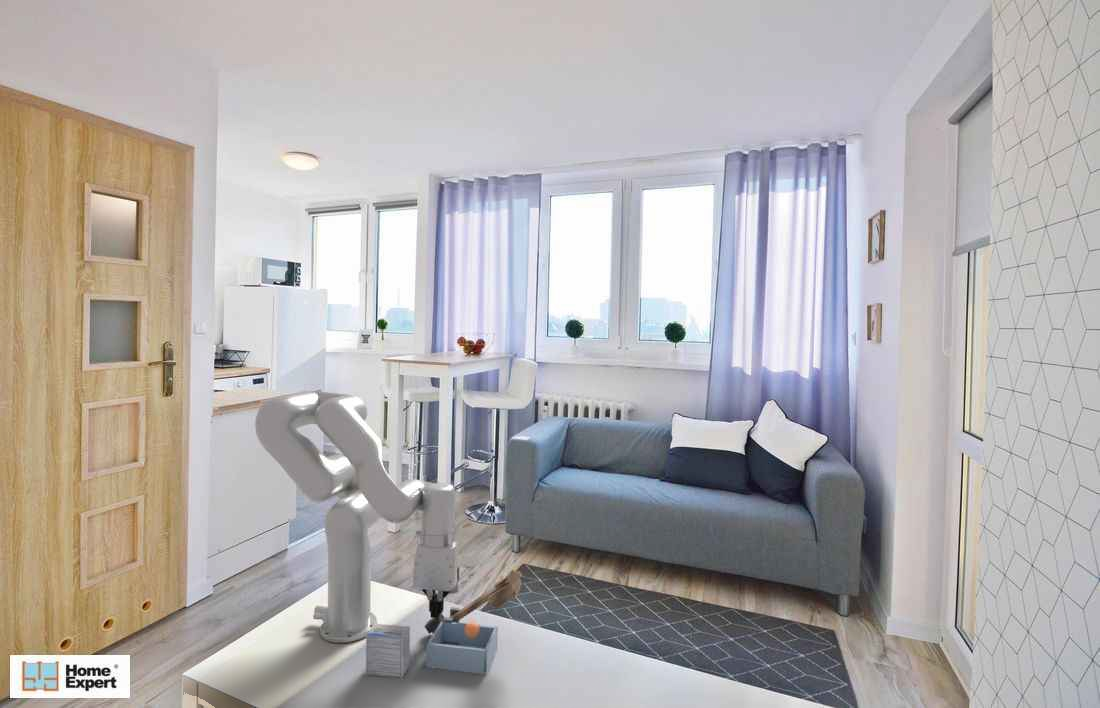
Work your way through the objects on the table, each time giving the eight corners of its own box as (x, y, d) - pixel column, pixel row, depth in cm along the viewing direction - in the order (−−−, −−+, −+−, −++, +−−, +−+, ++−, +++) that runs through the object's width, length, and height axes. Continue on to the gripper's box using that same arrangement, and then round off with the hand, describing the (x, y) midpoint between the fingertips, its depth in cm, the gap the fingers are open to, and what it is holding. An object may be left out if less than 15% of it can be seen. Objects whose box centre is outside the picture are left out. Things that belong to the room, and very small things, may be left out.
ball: (459, 631, 113) (471, 624, 112) (464, 623, 116) (475, 616, 116) (467, 644, 113) (479, 636, 112) (472, 635, 116) (483, 628, 115)
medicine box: (410, 665, 112) (410, 625, 111) (402, 679, 107) (402, 637, 107) (374, 662, 112) (375, 622, 112) (365, 675, 108) (365, 634, 108)
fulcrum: (433, 644, 119) (434, 620, 119) (444, 627, 126) (444, 604, 126) (459, 647, 118) (459, 623, 118) (468, 630, 125) (468, 607, 125)
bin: (426, 667, 111) (426, 644, 111) (441, 642, 120) (441, 621, 120) (486, 674, 109) (487, 650, 109) (497, 648, 118) (497, 626, 118)
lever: (416, 661, 113) (407, 648, 113) (435, 632, 124) (427, 620, 124) (516, 595, 109) (507, 582, 109) (526, 571, 120) (518, 559, 121)
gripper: (400, 541, 119) (399, 620, 120) (464, 546, 117) (461, 627, 118) (413, 529, 127) (412, 603, 127) (473, 534, 125) (471, 610, 125)
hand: (436, 614), depth 123 cm, fingers closed
